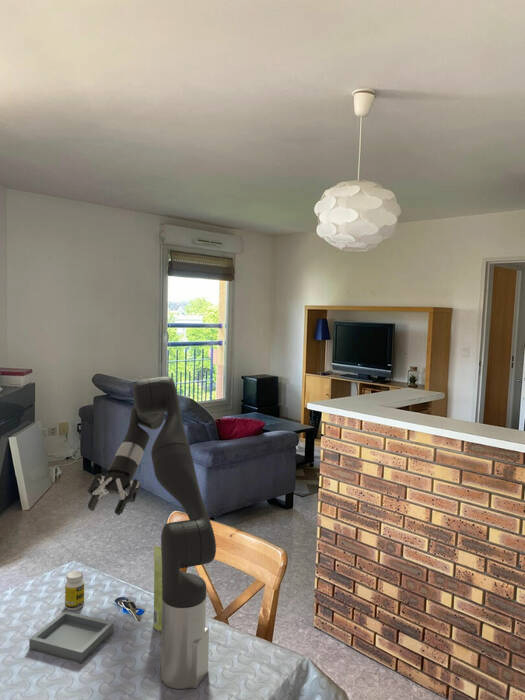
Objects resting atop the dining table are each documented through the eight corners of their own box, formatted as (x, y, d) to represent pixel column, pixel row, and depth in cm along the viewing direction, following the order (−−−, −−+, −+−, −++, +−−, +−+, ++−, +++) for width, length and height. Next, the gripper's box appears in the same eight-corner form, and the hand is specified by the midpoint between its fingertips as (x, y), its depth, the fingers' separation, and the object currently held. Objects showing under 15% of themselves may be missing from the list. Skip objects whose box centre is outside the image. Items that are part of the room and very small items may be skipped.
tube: (175, 618, 133) (177, 543, 132) (177, 630, 128) (178, 552, 127) (152, 621, 132) (153, 544, 131) (153, 633, 127) (154, 554, 126)
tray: (113, 632, 127) (113, 622, 127) (81, 663, 115) (82, 652, 115) (64, 620, 131) (64, 610, 131) (29, 649, 120) (29, 638, 119)
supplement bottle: (77, 611, 135) (78, 579, 134) (61, 609, 136) (61, 577, 135) (87, 601, 140) (88, 570, 139) (71, 599, 141) (71, 568, 140)
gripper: (101, 451, 158) (76, 502, 148) (143, 457, 153) (120, 509, 143) (111, 464, 163) (87, 514, 153) (152, 470, 159) (130, 521, 149)
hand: (103, 511), depth 148 cm, fingers open, 8 cm apart
